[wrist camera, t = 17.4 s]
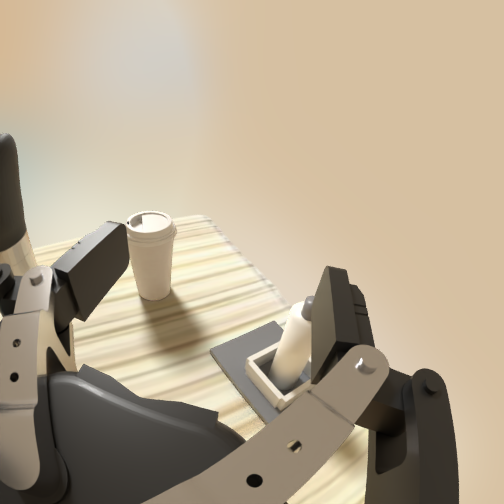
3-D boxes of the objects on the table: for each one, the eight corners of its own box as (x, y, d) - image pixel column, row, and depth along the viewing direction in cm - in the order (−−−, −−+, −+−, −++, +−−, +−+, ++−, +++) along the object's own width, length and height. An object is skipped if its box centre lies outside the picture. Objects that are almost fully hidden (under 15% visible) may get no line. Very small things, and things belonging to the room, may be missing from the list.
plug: (262, 374, 38) (286, 296, 29) (284, 361, 40) (313, 284, 31) (280, 395, 35) (314, 322, 26) (302, 381, 37) (340, 306, 29)
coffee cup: (139, 271, 55) (133, 206, 46) (182, 277, 55) (182, 211, 47) (124, 302, 46) (112, 232, 38) (172, 310, 47) (168, 238, 39)
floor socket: (209, 352, 41) (210, 337, 39) (273, 324, 48) (277, 308, 46) (290, 451, 28) (298, 443, 26) (351, 401, 35) (363, 389, 33)
